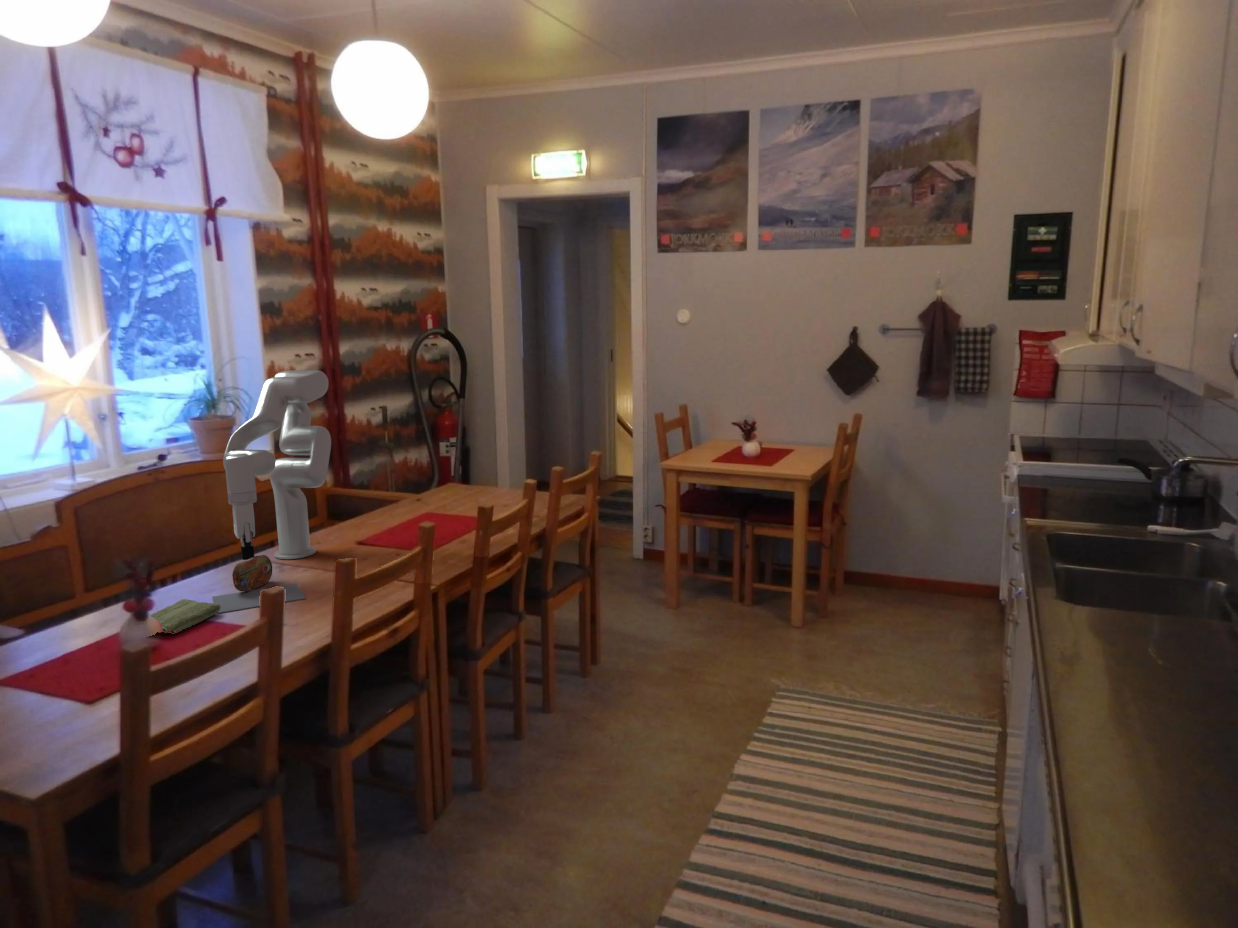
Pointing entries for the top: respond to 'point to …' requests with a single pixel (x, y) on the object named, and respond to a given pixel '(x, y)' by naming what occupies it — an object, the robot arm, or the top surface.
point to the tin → (252, 573)
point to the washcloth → (184, 614)
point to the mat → (252, 598)
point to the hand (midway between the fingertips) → (248, 558)
